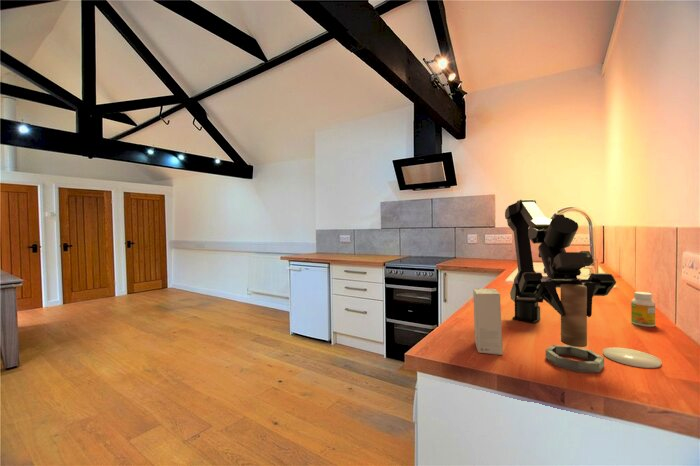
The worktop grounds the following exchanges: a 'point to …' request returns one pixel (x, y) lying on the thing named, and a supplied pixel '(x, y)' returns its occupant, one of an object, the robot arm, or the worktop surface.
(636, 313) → the supplement bottle
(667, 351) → the worktop surface
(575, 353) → the steel ring
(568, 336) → the walnut peg
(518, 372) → the worktop surface
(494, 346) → the skincare box
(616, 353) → the cream disc
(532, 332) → the worktop surface
